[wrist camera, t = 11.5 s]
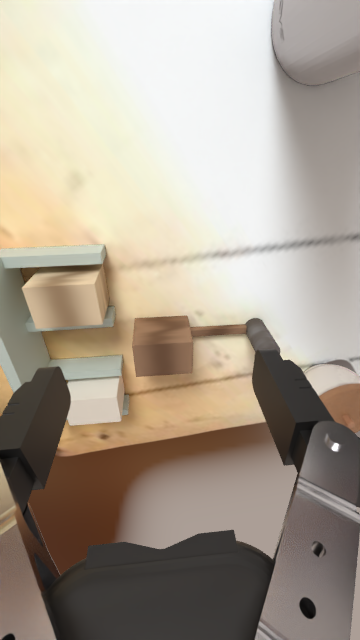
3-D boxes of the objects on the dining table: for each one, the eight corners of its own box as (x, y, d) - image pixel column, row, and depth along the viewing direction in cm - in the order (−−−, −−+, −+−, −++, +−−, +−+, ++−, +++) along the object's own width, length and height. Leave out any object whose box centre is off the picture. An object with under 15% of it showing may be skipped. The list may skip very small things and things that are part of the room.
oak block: (103, 262, 33) (94, 283, 28) (109, 298, 35) (102, 324, 30) (41, 265, 32) (21, 287, 27) (52, 302, 35) (36, 328, 30)
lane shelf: (104, 244, 32) (91, 271, 25) (129, 399, 45) (125, 444, 38) (1, 248, 31) (-41, 277, 24) (58, 405, 44) (41, 452, 37)
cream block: (120, 366, 41) (116, 397, 36) (124, 389, 44) (121, 421, 39) (72, 369, 41) (61, 401, 36) (79, 393, 43) (69, 425, 38)
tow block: (266, 311, 38) (283, 336, 33) (261, 339, 41) (276, 367, 36) (134, 318, 37) (132, 345, 32) (138, 347, 40) (136, 376, 34)
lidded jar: (293, 353, 43) (325, 400, 35) (358, 350, 44) (404, 395, 36) (279, 402, 49) (304, 452, 41) (337, 398, 49) (373, 446, 41)
